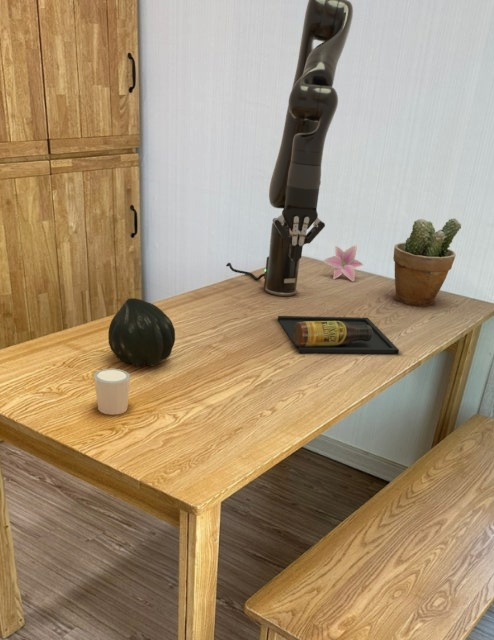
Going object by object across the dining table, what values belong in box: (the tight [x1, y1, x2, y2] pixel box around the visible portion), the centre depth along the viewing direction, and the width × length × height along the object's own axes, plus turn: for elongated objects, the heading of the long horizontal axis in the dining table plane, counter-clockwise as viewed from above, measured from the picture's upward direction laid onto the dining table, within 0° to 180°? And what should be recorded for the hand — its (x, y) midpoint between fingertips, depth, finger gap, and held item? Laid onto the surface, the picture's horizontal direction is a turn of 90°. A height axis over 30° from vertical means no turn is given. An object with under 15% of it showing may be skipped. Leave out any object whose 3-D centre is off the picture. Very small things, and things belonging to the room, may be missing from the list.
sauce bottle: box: [293, 321, 372, 347], centre depth 175 cm, size 7×6×20 cm
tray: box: [277, 315, 400, 355], centre depth 183 cm, size 26×24×1 cm
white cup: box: [93, 368, 131, 416], centre depth 135 cm, size 7×7×7 cm
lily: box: [323, 244, 364, 282], centre depth 232 cm, size 12×12×10 cm
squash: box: [107, 297, 176, 367], centre depth 155 cm, size 14×15×15 cm
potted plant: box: [392, 218, 462, 307], centre depth 211 cm, size 18×19×25 cm
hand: (294, 260), depth 170 cm, fingers closed
